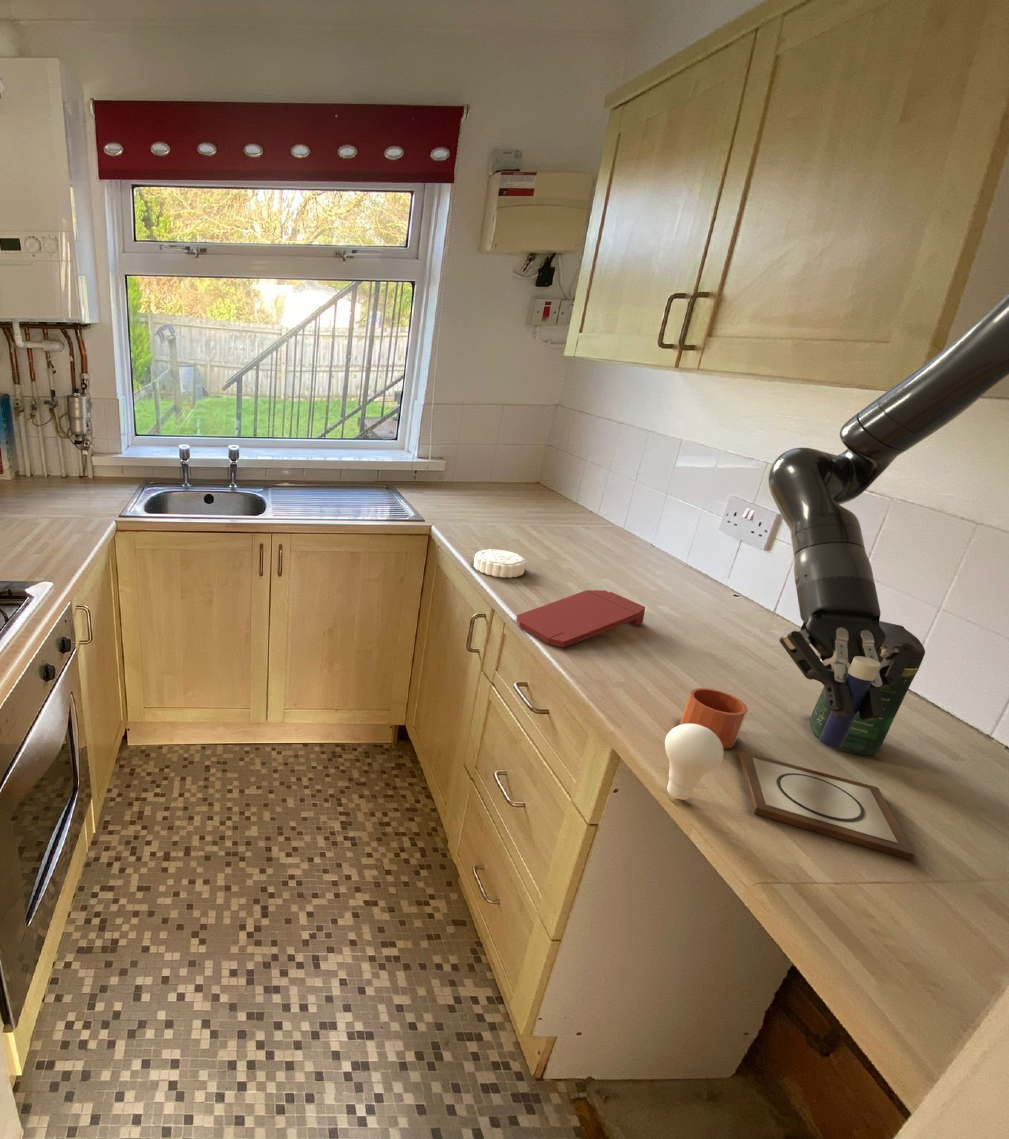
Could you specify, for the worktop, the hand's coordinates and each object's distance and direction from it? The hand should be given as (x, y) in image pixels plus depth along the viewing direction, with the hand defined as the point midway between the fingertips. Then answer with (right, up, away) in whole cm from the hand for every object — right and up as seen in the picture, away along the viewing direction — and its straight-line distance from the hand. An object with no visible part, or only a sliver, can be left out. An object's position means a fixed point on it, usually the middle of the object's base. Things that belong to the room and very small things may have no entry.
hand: (857, 716), depth 75 cm
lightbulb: (-17, -13, +7) cm, 22 cm away
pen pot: (-3, -7, +20) cm, 22 cm away
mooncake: (-10, +18, +82) cm, 85 cm away
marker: (0, -4, +4) cm, 6 cm away
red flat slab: (-5, +6, +53) cm, 54 cm away
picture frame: (+1, -13, +7) cm, 15 cm away
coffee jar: (+17, -8, +20) cm, 27 cm away
